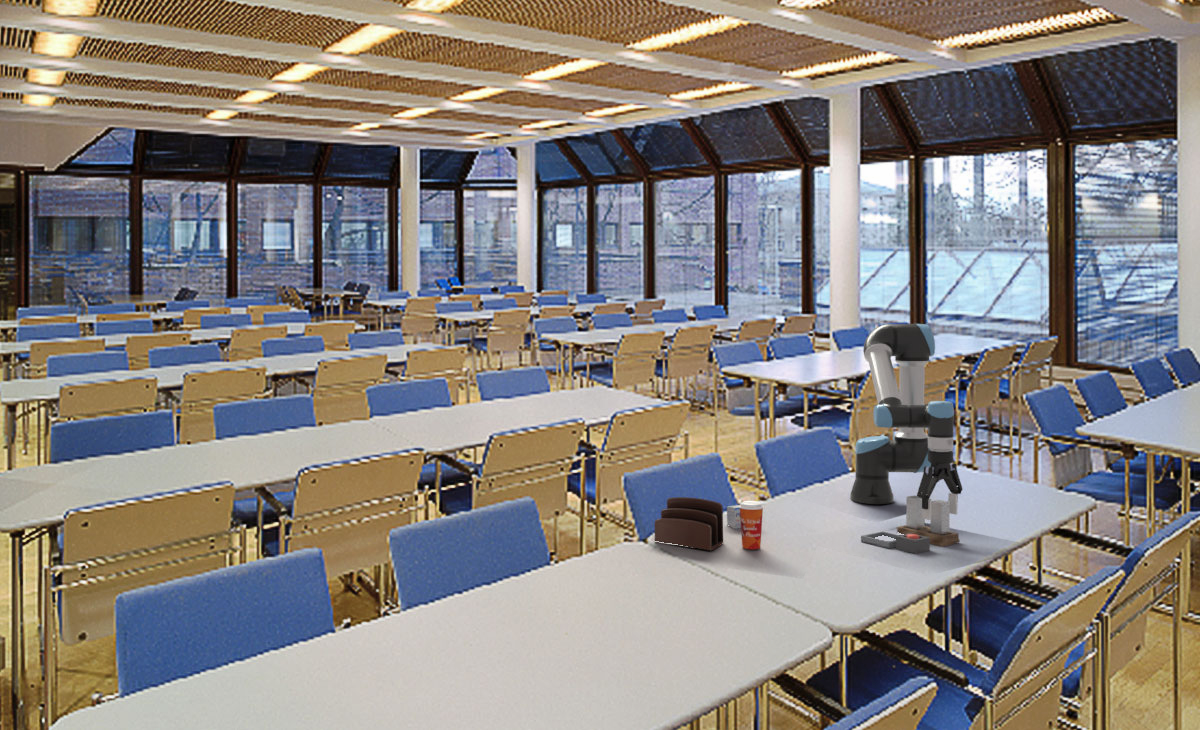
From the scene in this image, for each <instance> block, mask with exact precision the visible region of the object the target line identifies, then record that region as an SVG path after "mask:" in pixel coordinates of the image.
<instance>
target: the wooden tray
mask: <svg viewBox="0 0 1200 730" xmlns="http://www.w3.org/2000/svg"><path fill="white" fill-rule="evenodd" d="M896 531H897V532H899V533H901V534H909V533H912V534H916V535H921V536H925V537H930V545H932V544H933V546H938V547H942V548H943V547H947V546H951V545H955V544H954V543H956V544H958V543H957V542H961V541H960V539H959V537H960V536H959V533H957V532H953V531H949V535H944V536H940V535H936V534H931V526H926V525H925V529H922V530H913V529H909V528H906V524H905V525H900V526H897V527H896ZM897 532H896V533H897Z"/></svg>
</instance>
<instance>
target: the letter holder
mask: <svg viewBox="0 0 1200 730" xmlns="http://www.w3.org/2000/svg"><path fill="white" fill-rule="evenodd" d="M723 508H724V507H723V504H721V502H719V501H718V502H717V501H714V500H709V499H705V498H698V497H697V498H696V497H686V496H685V497H684V496H683V497H682V496H681V497H679V496H677V497H668V498H667V499H666V508H663V509H662V510H661V511H660V518H657V519H655V521H654V542H655V541H659V542H664V543H672V544H678V545H683V546H688V547H693V548H692V549H695V548H698V549H697V550H702V549H703V550H702V551H713V550H715V549H717V548H719V547H720V546H721V545H720V544H722V543H723V544H724V509H723ZM723 544H722V545H723ZM719 545H720V546H719ZM718 546H719V547H718ZM716 547H717V548H716Z"/></svg>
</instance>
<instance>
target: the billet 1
mask: <svg viewBox="0 0 1200 730" xmlns="http://www.w3.org/2000/svg"><path fill="white" fill-rule="evenodd" d="M905 517H906V524H905V525H906V528H909V529H913V530H922V529H925V526H926V525H925V520H926V519H922V498H919V497H918V496H917V495H910V496H906V516H905Z"/></svg>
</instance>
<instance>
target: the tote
mask: <svg viewBox="0 0 1200 730" xmlns="http://www.w3.org/2000/svg"><path fill="white" fill-rule="evenodd" d="M882 535H884V536H888V537H891V538H894V539H896V536H899V535H896V533H893V532H888V531H883V530H882V531H878V532H872V533H868V534H862V535H860V542H861V541H864V542H867V543H866V544H868V543H870V544H869V545H872V544H873V546H877V547H881V548H885V549H893V548H896V540H893V541H884V540H879V539H875V537H878V536H882ZM864 542H863V543H864Z"/></svg>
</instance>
